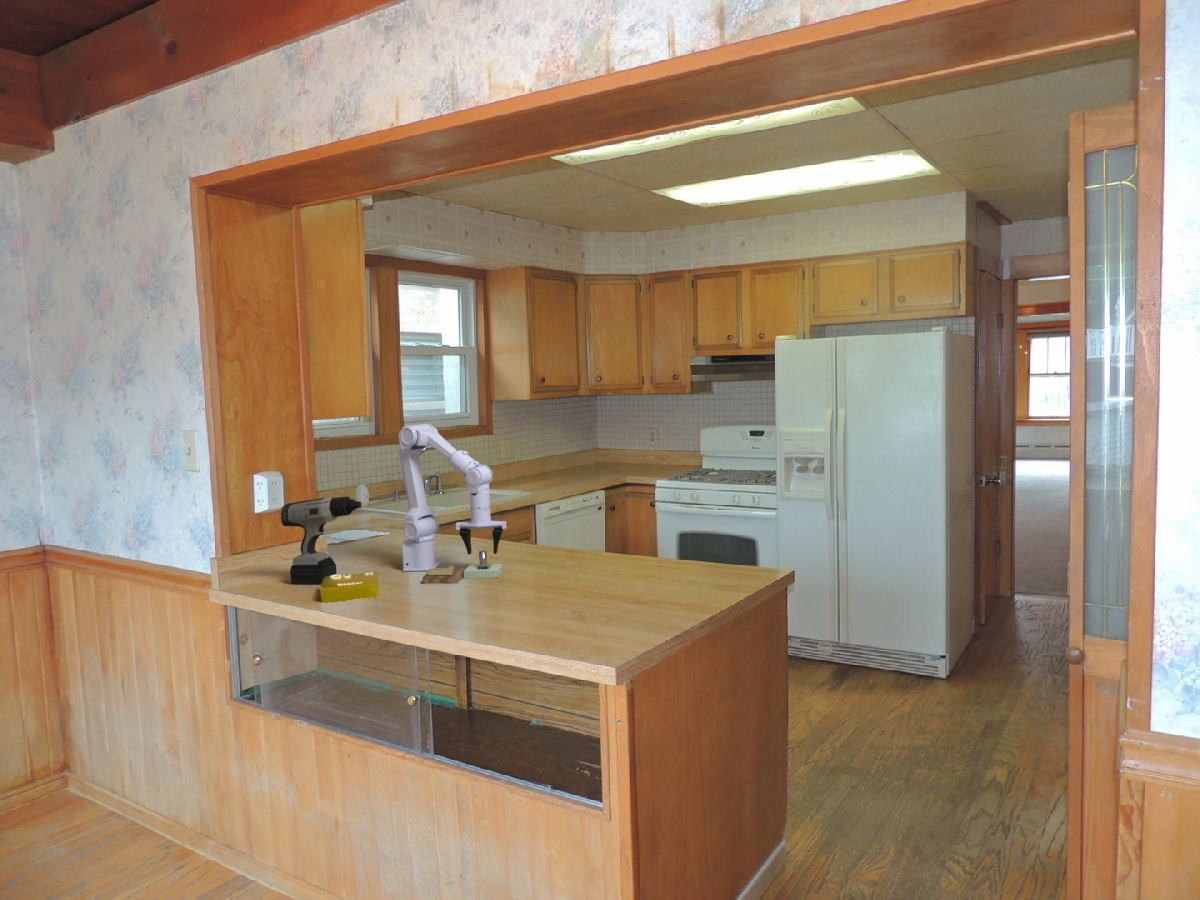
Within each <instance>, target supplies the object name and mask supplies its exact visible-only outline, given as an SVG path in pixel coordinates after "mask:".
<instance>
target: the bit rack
mask: <svg viewBox="0 0 1200 900" xmlns="http://www.w3.org/2000/svg"><path fill="white" fill-rule="evenodd" d="M503 572H504V564H501V563H499V564H498V563H497V564H487V569H480V564H469V565H468V566H467V567H466V568H465V571H464V577H463V578H464V579H487V578H489V579H490V578H494V577H495V578H496V577H498V578H499V577H500V576H501V575H502V573H503ZM500 574H501V575H500ZM495 578H494V579H495Z"/></svg>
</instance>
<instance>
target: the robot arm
mask: <svg viewBox="0 0 1200 900" xmlns="http://www.w3.org/2000/svg"><path fill="white" fill-rule="evenodd" d="M397 436H398V437H397V438H398V441H399V447H398V449H399V451H398V454H399V455H398V456H399V462H400V465H401V470H402V471H401V472H402V475H403V482H404V488H405V494H406V498H407V504H408V508H409V509H408V510H407V511H408V512H406V513H405V515H404V517H403V519H404V526H403V533H404V535H405V537H406V538H407V540H406V539H405V540H403V542H402V549H401V551H402V553H401V554H402V565H403V566H402V567H403V569H402V571H403V572H420V571H423V572H425V571H427V572H428V569H429V568H437V567H438V566H440V562H436V549H435V547H436V546H435V545H436V544H435V539H436V534H437V533H438V532H439V529H440V524H439V521H438V519H437V517H436V515H435V511H434V510H433V509H431V508H430V507H429V506H428V503H427V495H426V491H425V490H426V489H425V487H424V485H425V484H424V480H423V475H422V470H421V469H422V468H421V464H420V459H419V458H420V457H419V455H420V454H421V453H422V452H423V450H425V449H426V448H427V447H430V448H432V449H434V450H435V451H437V452H438V453H440V454H441V455H442V456H443V457H444V458H446V459H447V460H449V466H450V467H452V468H453V469H454V470H455V471H456V472H457V473H459V474H460V475H461V476H462V477H463V478H464V482H465V484H466V485H467V488H468V493H469V503H470V505H469V507H470V521H460V522H459V521H457V522H456V523H455V530H456V531H459V536H460V537H461V539H462V541H463V543H464V545H465V549H466V552H467V555H471V554H472V542H471V541H472V540H471V537H472V536H471V535H472V534H471V533H472V530H492V529H493V530H492V531H491V533H492V541H493V548H492V549H493V550H492V551H493V554H494V555H496V554H497V553H498V551H499V550H498V549H499V544H500V539H501V538H502V537H501V536H502V534H503V531H504V530H506V529H507V521H506V520H504V521H503V520H492V517H491V513H492V512H491V497H490V492H491V491H490V483H491V482H493V477H494V473H493V471H492V469H491V468H490V466H489V465H487V464H481V463H480V462H479V461H478V460H475V459H474V458H472V457H471V456H470V455H469V452H468V451H466V450H461V449H460V450H457V449H456V448H455V447H453V446H452V444H451V443H449V442H448V441H447V440H446V439H445V438H444V437H443V436H442V435H441V434H440V433H439V431H438V428H436V427H434V426H433V425H432V424H431V423H429V422H425V423H422V424H421V423H420V424H411V425H410V424H408V425H407V424H406V425H404V426H402V428H401V429H400V431H399V432H398V434H397ZM438 568H439V567H438Z"/></svg>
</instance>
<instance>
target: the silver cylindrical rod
mask: <svg viewBox="0 0 1200 900" xmlns="http://www.w3.org/2000/svg"><path fill="white" fill-rule="evenodd" d="M487 552H488V551H487V550H485V549H484V550H479V551H478V561H479V565H480V569H487V565H488V554H487Z"/></svg>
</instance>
